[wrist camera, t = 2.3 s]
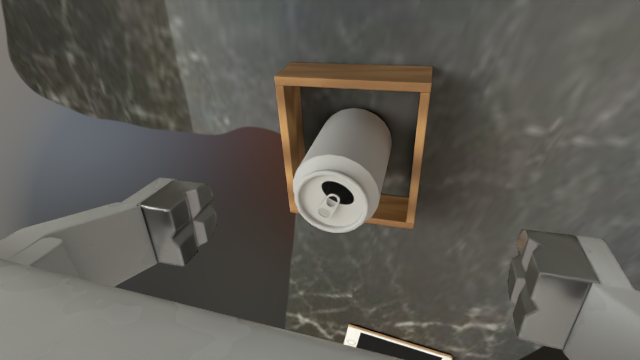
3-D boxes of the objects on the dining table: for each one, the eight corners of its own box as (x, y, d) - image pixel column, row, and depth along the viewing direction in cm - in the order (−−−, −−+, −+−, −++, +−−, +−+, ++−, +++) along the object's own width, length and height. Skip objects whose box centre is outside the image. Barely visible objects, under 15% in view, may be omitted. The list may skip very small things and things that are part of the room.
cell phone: (348, 323, 57) (348, 326, 56) (453, 355, 54) (453, 359, 54) (342, 349, 62) (341, 352, 61) (437, 380, 59) (437, 384, 58)
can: (407, 130, 37) (395, 201, 27) (367, 179, 41) (345, 254, 32) (345, 90, 36) (311, 147, 27) (311, 144, 41) (272, 209, 31)
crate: (290, 62, 36) (274, 76, 33) (432, 66, 33) (431, 83, 29) (302, 189, 45) (290, 212, 41) (415, 203, 41) (413, 229, 38)
